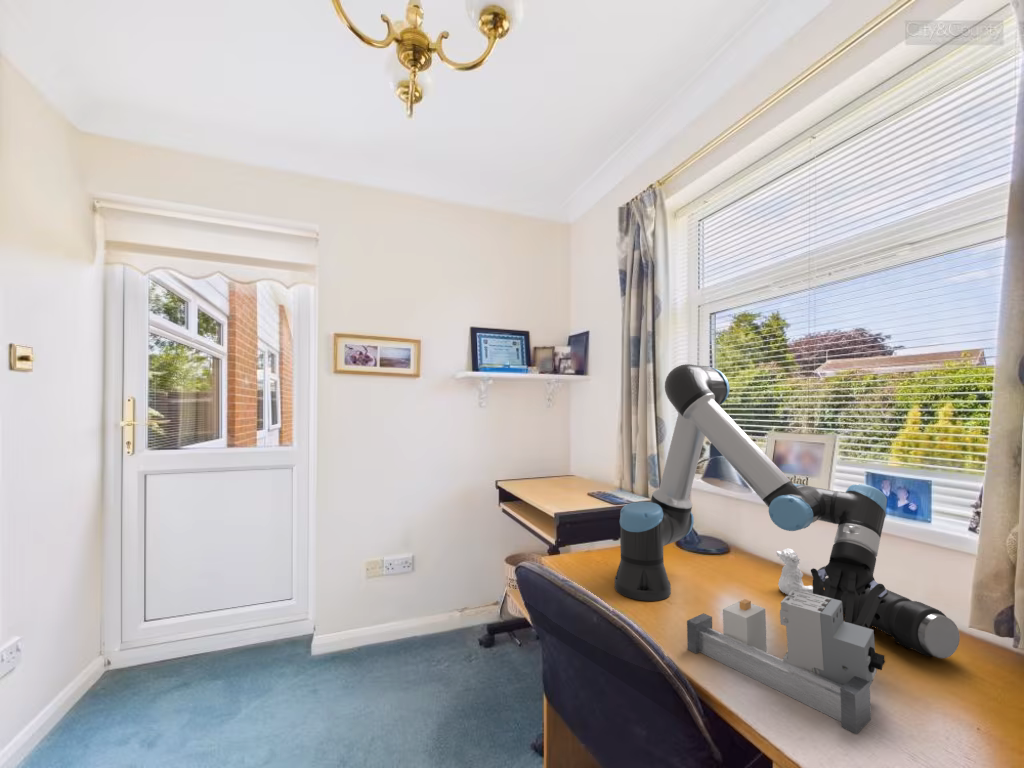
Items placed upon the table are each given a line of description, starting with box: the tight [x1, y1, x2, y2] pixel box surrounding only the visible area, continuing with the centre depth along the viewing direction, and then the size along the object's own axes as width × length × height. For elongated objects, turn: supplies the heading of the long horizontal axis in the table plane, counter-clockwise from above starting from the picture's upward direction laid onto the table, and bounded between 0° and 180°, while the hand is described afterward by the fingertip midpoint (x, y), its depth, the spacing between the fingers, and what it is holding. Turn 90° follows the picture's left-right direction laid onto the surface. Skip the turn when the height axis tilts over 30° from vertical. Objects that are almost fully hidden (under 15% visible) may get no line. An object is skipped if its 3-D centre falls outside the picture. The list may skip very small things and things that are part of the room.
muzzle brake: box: [818, 565, 961, 660], centre depth 104 cm, size 10×28×10 cm, turn 7°
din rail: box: [686, 613, 872, 735], centre depth 85 cm, size 30×6×6 cm, turn 34°
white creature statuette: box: [776, 547, 813, 596], centre depth 125 cm, size 10×9×12 cm
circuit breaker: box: [779, 589, 886, 687], centre depth 81 cm, size 8×14×15 cm, turn 42°
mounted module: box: [722, 598, 768, 653], centre depth 95 cm, size 5×8×10 cm, turn 124°
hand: (829, 658), depth 86 cm, fingers open, 1 cm apart
